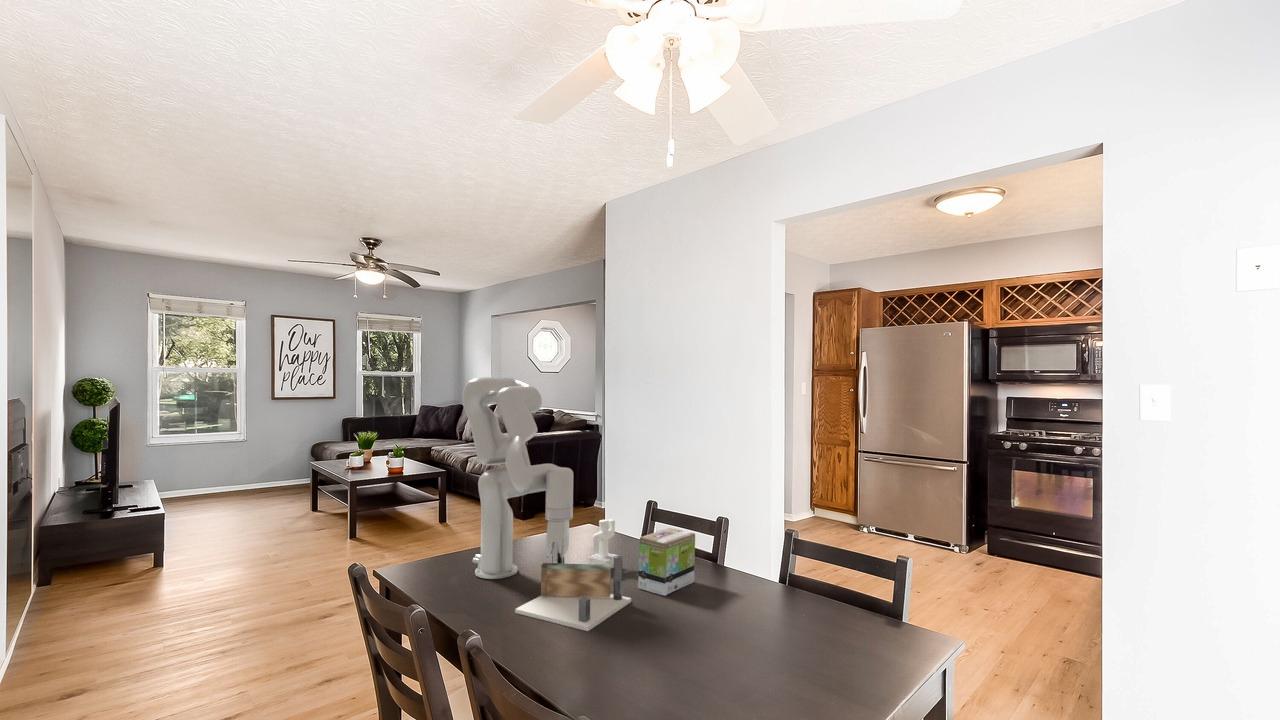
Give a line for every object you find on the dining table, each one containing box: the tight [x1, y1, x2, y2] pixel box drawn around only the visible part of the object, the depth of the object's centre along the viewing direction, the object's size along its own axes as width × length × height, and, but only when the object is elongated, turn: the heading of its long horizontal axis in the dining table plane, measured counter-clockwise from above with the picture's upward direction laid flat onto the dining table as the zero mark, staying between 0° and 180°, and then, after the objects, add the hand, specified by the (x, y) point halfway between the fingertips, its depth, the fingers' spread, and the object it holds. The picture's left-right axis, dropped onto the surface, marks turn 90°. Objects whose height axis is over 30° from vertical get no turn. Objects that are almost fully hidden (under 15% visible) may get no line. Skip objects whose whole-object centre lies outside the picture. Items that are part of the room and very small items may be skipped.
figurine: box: [587, 519, 620, 569], centre depth 187 cm, size 7×9×15 cm
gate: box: [540, 562, 612, 597], centre depth 159 cm, size 18×2×8 cm, turn 86°
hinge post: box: [579, 555, 623, 622], centre depth 152 cm, size 2×18×12 cm, turn 152°
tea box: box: [637, 527, 696, 597], centre depth 172 cm, size 15×10×15 cm, turn 143°
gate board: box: [514, 593, 632, 632], centre depth 155 cm, size 22×21×1 cm
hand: (558, 579), depth 164 cm, fingers closed
